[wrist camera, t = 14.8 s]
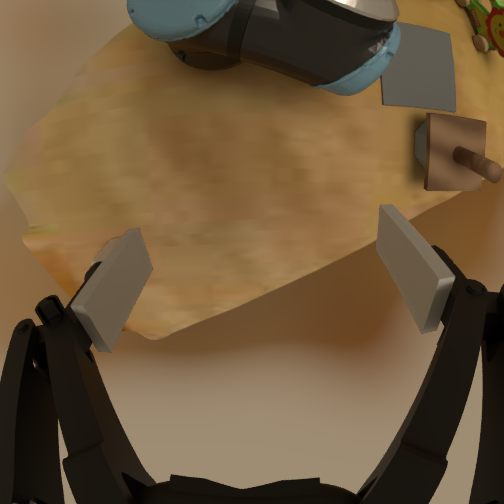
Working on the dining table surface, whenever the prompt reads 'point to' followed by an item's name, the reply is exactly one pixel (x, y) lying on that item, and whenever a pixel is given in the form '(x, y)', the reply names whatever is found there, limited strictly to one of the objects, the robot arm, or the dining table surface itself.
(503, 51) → the toy lion
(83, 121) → the dining table surface
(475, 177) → the lid
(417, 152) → the bowl
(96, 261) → the jar
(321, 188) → the dining table surface
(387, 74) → the mat
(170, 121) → the dining table surface
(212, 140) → the dining table surface
